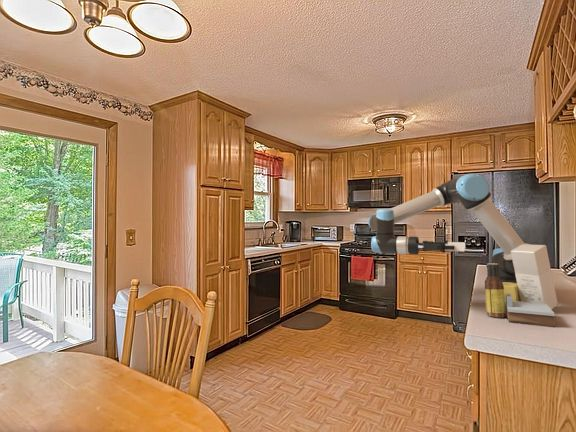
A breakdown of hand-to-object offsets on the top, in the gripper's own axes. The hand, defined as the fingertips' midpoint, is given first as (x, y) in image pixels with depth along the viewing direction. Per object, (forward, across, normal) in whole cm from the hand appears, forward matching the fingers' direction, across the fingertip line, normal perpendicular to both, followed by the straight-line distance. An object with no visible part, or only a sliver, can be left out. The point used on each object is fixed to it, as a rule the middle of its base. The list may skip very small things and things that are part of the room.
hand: (465, 246), depth 131 cm
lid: (+20, 0, -22) cm, 30 cm away
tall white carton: (+26, -18, -25) cm, 40 cm away
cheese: (+14, -17, -26) cm, 34 cm away
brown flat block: (+20, 0, -26) cm, 33 cm away
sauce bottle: (+10, 0, -26) cm, 28 cm away
